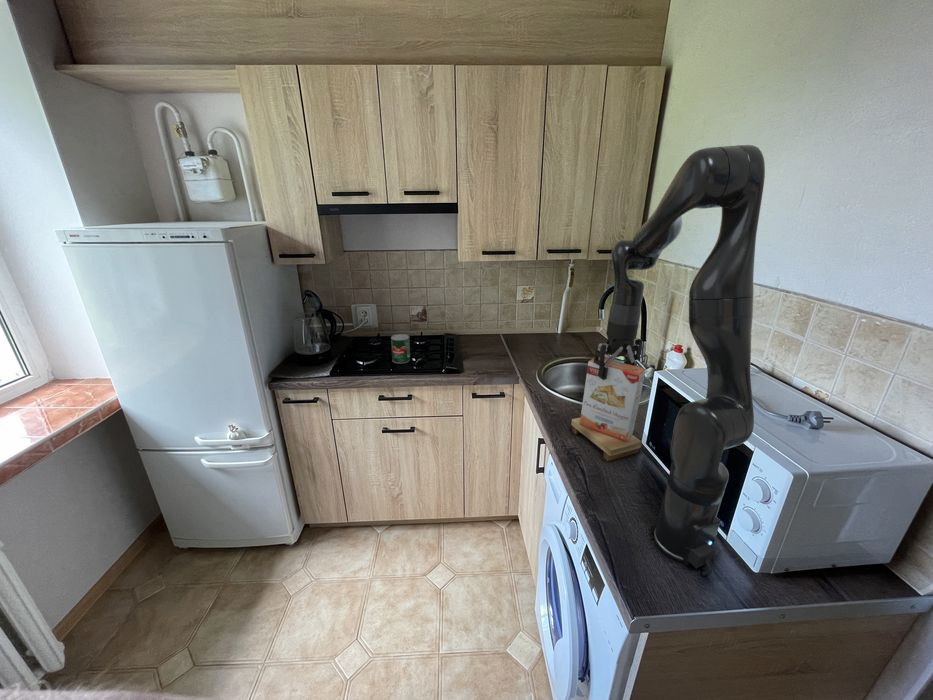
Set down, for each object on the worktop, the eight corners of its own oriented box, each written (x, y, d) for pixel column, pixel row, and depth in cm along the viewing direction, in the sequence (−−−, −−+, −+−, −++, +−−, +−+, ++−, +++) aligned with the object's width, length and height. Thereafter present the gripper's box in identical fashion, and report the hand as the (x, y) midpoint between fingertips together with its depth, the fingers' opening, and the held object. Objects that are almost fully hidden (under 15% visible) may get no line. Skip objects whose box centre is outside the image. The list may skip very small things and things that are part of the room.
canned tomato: (393, 364, 165) (392, 340, 161) (391, 358, 172) (389, 334, 168) (411, 362, 167) (410, 338, 163) (408, 356, 174) (407, 333, 170)
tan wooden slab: (639, 453, 107) (642, 441, 106) (609, 462, 103) (611, 450, 102) (598, 423, 122) (600, 412, 121) (570, 430, 118) (571, 419, 117)
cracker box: (578, 425, 113) (587, 360, 106) (586, 417, 117) (595, 354, 110) (626, 443, 105) (639, 374, 97) (633, 434, 109) (646, 367, 102)
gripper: (612, 326, 93) (603, 386, 99) (655, 320, 99) (644, 377, 104) (592, 318, 100) (584, 375, 106) (633, 313, 105) (624, 367, 111)
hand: (614, 376), depth 105 cm, fingers closed on cracker box, 8 cm apart
